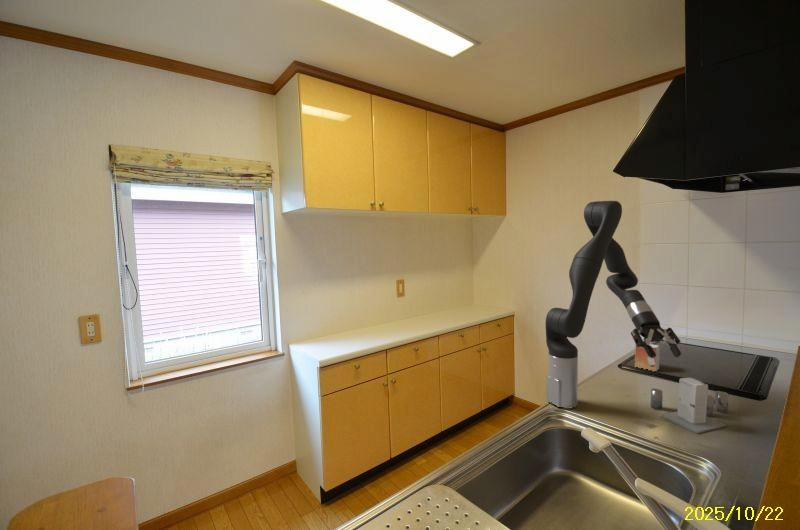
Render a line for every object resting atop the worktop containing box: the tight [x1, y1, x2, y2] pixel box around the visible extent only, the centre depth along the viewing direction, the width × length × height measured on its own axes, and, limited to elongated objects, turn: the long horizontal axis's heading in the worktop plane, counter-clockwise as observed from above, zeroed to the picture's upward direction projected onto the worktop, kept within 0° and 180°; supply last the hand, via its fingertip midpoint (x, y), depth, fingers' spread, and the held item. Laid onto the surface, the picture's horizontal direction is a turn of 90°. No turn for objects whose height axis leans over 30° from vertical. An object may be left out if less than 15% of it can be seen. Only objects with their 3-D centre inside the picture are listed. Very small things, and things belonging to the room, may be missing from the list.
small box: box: [634, 343, 661, 372], centre depth 160 cm, size 8×6×10 cm
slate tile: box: [659, 410, 727, 434], centre depth 113 cm, size 12×11×1 cm
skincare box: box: [677, 377, 709, 424], centre depth 112 cm, size 6×4×12 cm
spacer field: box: [650, 388, 730, 418], centre depth 121 cm, size 21×12×6 cm, turn 108°
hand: (666, 356), depth 122 cm, fingers open, 8 cm apart
